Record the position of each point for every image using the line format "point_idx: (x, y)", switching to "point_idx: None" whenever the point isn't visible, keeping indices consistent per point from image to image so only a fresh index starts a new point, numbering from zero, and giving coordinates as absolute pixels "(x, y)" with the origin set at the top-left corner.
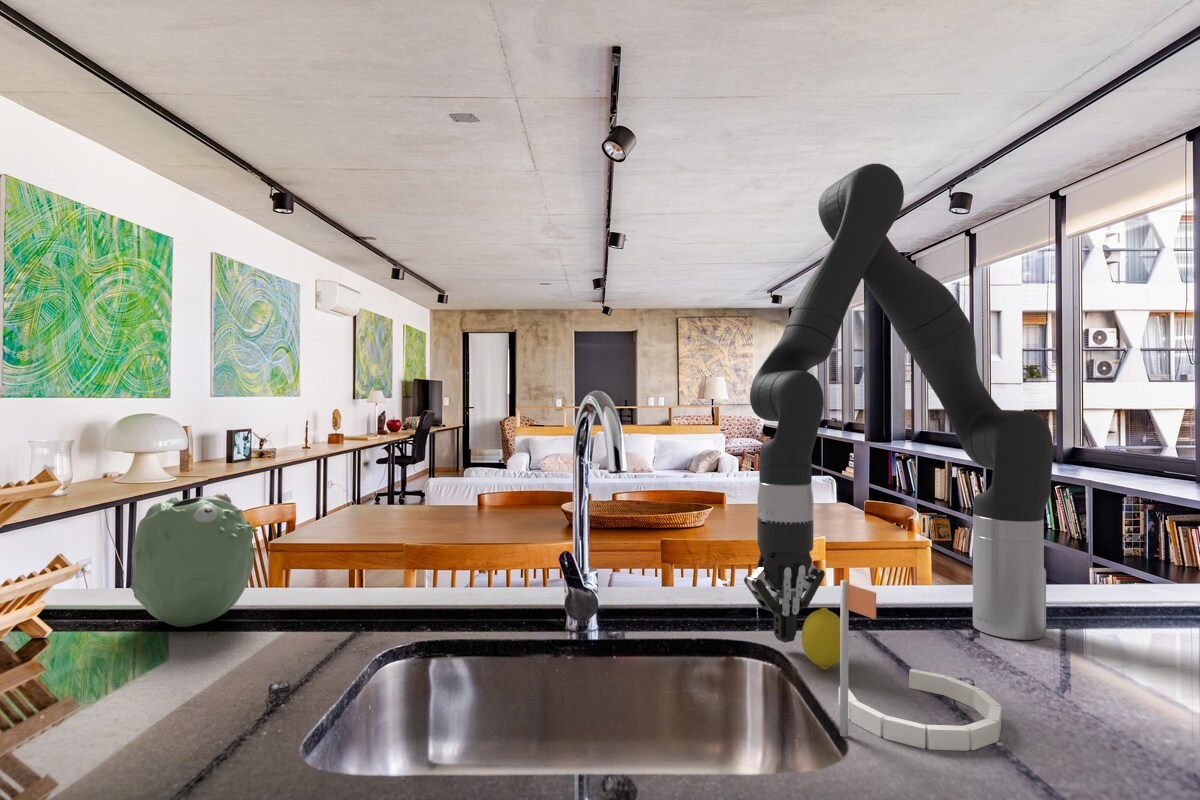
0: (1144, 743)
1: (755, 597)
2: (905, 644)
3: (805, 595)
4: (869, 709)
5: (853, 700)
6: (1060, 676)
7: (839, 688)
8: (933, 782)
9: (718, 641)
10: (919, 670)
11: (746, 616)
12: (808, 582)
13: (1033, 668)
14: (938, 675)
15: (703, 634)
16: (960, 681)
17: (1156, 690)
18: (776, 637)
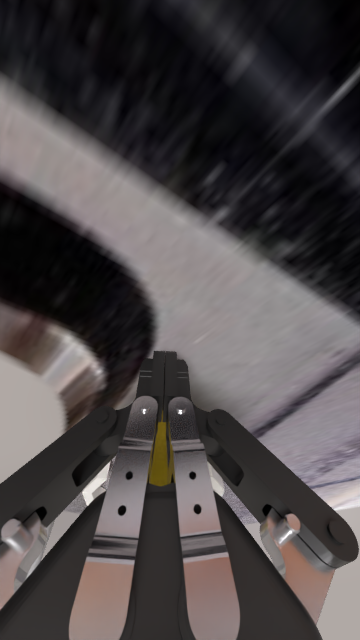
0: (243, 518)
1: (48, 449)
2: (346, 400)
3: (218, 471)
4: (89, 500)
5: (88, 491)
6: (339, 480)
7: (95, 478)
8: (82, 510)
9: (58, 235)
10: (215, 480)
11: (311, 58)
12: (258, 507)
13: (348, 469)
14: (218, 488)
15: (37, 154)
16: (221, 496)
17: (351, 501)
18: (154, 351)
